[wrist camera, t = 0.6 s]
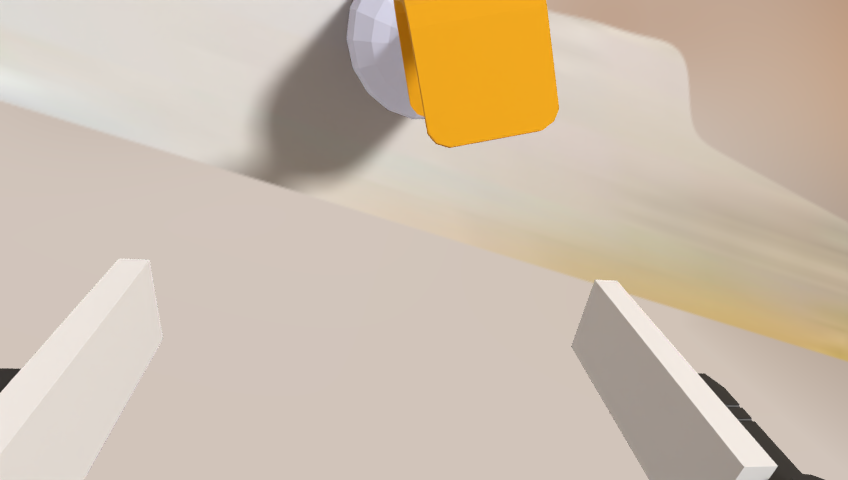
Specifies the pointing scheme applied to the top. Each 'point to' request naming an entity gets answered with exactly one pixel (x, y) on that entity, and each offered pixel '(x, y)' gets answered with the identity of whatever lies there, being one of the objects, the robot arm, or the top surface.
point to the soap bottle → (457, 64)
